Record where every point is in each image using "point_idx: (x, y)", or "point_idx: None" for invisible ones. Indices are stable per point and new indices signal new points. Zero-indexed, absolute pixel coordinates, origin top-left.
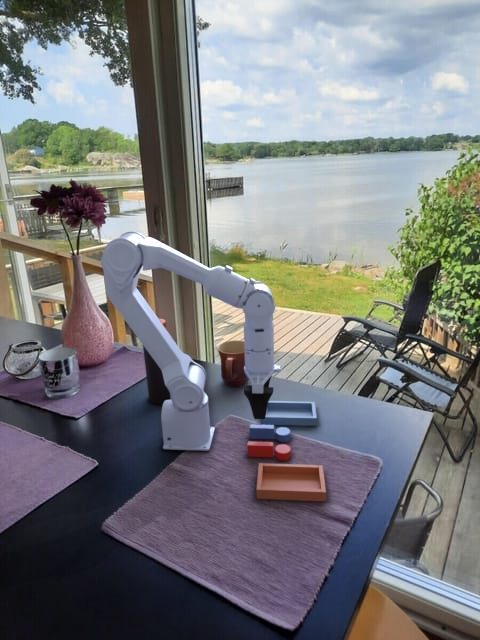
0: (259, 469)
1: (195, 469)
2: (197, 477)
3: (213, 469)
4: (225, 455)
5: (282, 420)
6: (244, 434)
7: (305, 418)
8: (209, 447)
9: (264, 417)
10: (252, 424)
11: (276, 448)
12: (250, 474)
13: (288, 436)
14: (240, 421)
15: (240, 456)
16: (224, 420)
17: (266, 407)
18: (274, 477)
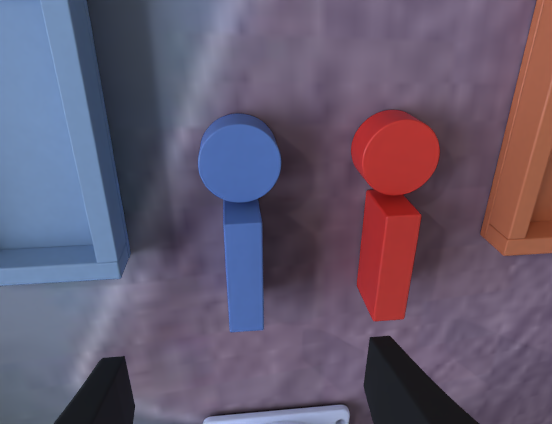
0: (546, 249)
1: None
2: (475, 398)
3: (443, 369)
4: None
5: (106, 169)
6: (226, 315)
7: (72, 20)
8: (338, 410)
9: (397, 345)
10: (229, 323)
11: (397, 190)
12: (489, 260)
13: (265, 130)
14: (123, 344)
15: None
16: None
17: (458, 406)
18: (543, 177)
